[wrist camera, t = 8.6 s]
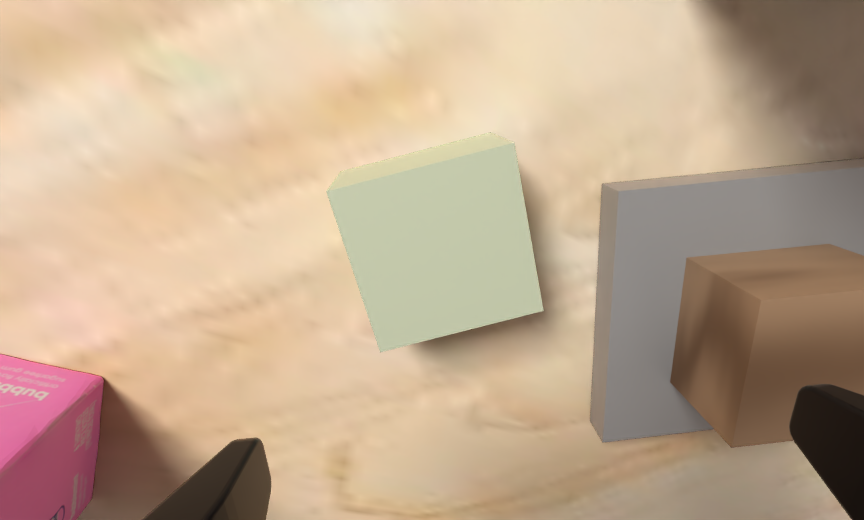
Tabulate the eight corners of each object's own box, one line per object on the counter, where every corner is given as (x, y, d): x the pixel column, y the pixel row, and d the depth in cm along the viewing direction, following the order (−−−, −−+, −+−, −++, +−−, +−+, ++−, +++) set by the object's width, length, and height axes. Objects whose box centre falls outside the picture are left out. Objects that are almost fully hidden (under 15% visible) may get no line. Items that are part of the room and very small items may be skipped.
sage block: (515, 269, 20) (543, 310, 16) (383, 303, 20) (380, 352, 16) (489, 132, 18) (514, 142, 14) (341, 170, 18) (326, 191, 14)
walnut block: (798, 368, 21) (887, 429, 17) (669, 382, 20) (731, 447, 17) (829, 243, 18) (939, 282, 15) (686, 257, 18) (761, 300, 14)
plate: (819, 393, 23) (847, 413, 22) (590, 420, 23) (602, 442, 21) (883, 156, 19) (921, 161, 17) (601, 183, 18) (618, 191, 17)
